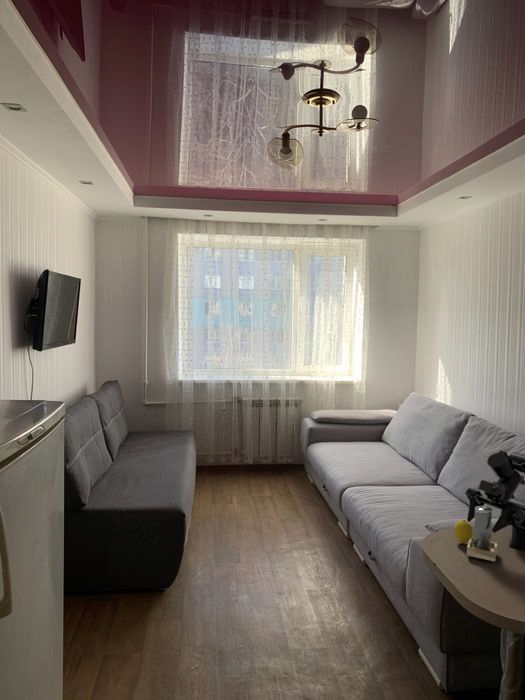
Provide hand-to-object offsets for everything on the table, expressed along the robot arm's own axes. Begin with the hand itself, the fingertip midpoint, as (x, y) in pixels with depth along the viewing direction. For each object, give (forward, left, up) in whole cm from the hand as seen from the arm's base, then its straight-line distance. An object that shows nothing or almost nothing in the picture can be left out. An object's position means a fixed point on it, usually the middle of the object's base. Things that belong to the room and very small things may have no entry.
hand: (480, 526), depth 161 cm
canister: (-1, +1, -8) cm, 8 cm away
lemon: (-8, -5, -10) cm, 14 cm away
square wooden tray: (-1, +1, -10) cm, 10 cm away
